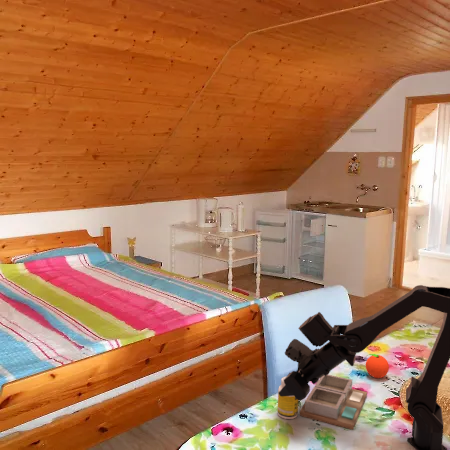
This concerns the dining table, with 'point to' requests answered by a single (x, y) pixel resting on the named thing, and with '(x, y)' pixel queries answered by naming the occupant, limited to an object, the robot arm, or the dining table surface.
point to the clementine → (377, 366)
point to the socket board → (348, 412)
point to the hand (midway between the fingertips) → (283, 389)
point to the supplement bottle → (287, 404)
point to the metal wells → (328, 396)
